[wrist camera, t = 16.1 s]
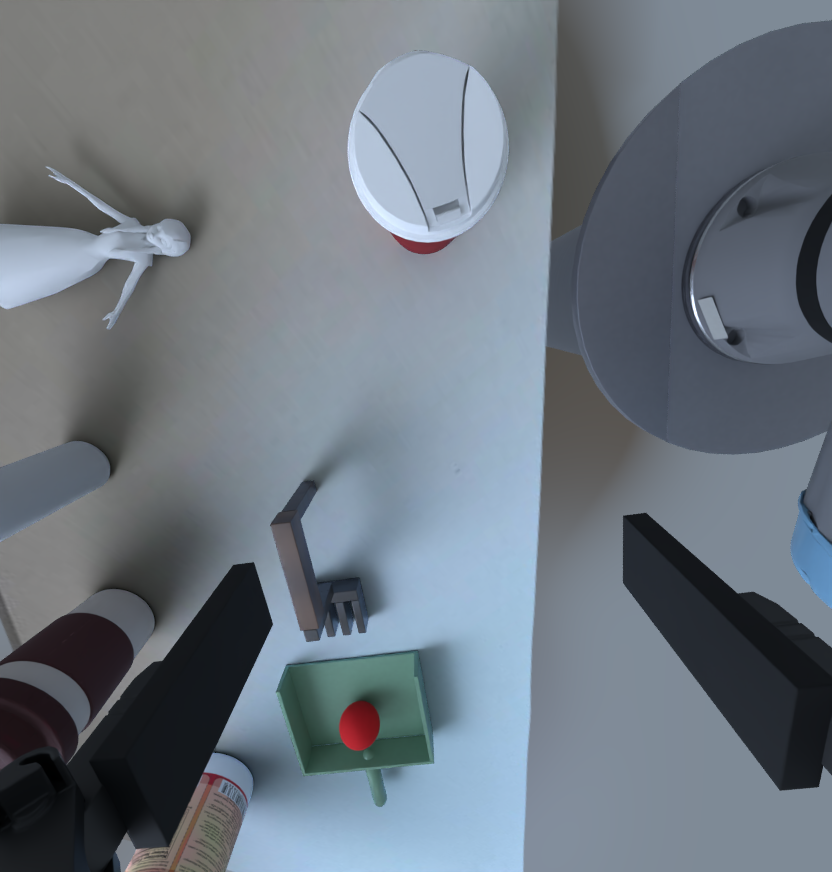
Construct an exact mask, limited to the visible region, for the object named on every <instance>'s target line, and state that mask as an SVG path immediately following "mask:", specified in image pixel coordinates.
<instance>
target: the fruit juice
mask: <svg viewBox="0 0 832 872" xmlns="http://www.w3.org/2000/svg"><path fill="white" fill-rule="evenodd" d="M252 791H253V777H252V774H251V772H250V771H249V769H248V768H247V767H246V766H245V765H244V764H243V763H242V762H240V761H239V760H237V759H235V758H233V757H231V756H228V755H225V754H221V753H212V755H211V758H210V760H209V762H208V764H207V766H206V768H205V770H204V772H203V775H202V777H201V779H200V781H199V783H198V785H197V787H196V789H195V792H194V794H193V796H192V798H191V800H190V802H189V804H188V807H187V809H186V811H185V813H184V815H183V817H182V819H181V821H180V824H179V826H178V828H177V830H176V832H175V834H174V836H173V839H172V841H171V843H170V845H169V846H165V847H154V848H143V849H137V850H136V852H135V854H134V856H133V857H132V860H131V861H130V863H129V865H128V867H127V869H126V871H125V872H225V871H226V868H227V865H228V862H229V859H230V856H231V854H232V851H233V848H234V845H235V842H236V839H237V836H238V833H239V831H240V828H241V825H242V822H243V819H244V816H245V813H246V810H247V808H248V805H249V802H250V799H251V795H252Z"/></svg>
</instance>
